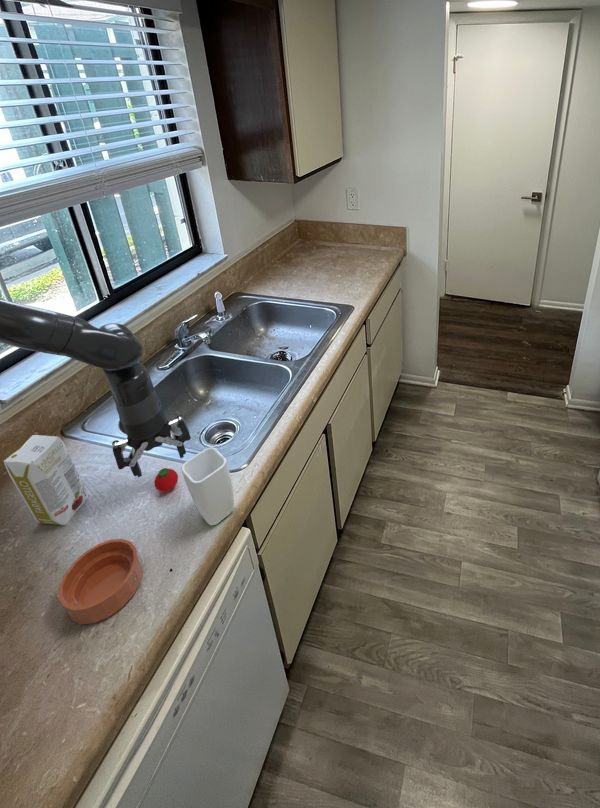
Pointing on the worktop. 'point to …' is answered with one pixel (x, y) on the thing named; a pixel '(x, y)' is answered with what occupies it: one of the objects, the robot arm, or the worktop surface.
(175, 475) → the tomato
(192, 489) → the cup
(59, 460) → the juice carton
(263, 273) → the worktop surface
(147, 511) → the worktop surface
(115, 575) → the bowl
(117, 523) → the worktop surface
